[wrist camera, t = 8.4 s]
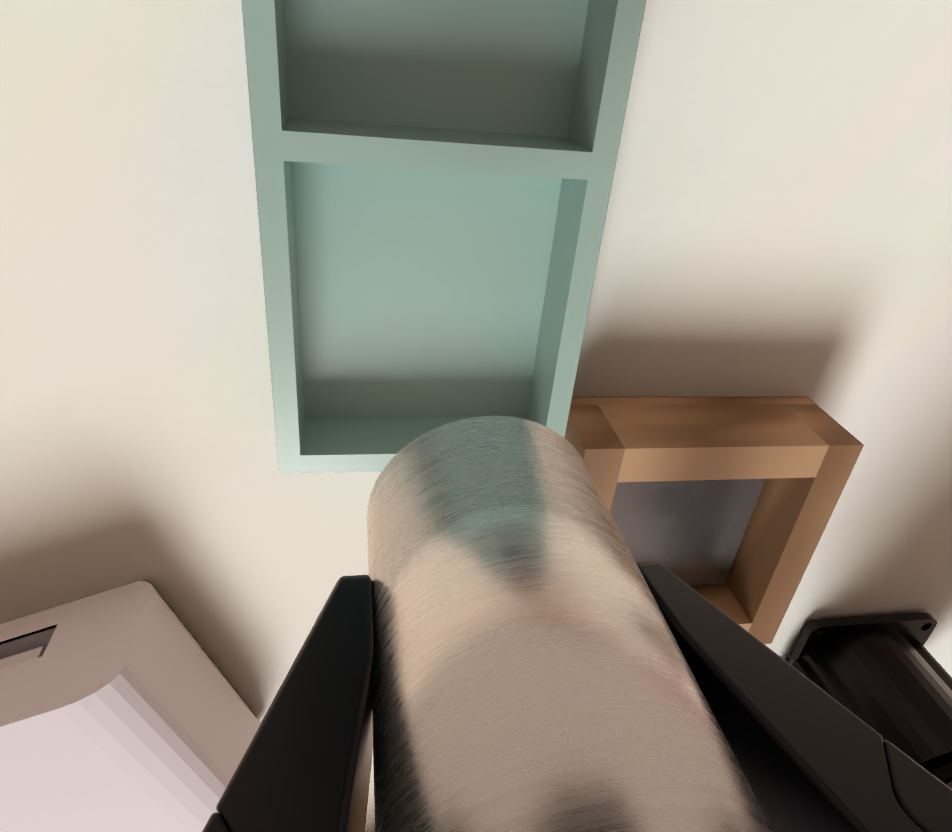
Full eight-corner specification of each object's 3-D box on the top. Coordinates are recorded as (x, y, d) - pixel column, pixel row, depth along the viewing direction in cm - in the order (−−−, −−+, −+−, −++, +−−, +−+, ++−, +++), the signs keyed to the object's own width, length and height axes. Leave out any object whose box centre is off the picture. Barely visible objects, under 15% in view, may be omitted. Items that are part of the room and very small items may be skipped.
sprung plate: (762, 441, 23) (774, 454, 22) (715, 568, 26) (724, 583, 25) (598, 443, 22) (606, 457, 21) (569, 576, 25) (575, 591, 24)
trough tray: (657, -310, 13) (715, -371, 11) (538, 423, 22) (558, 467, 20) (230, -398, 12) (203, -489, 9) (286, 425, 20) (279, 473, 18)
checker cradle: (807, 396, 23) (868, 448, 20) (732, 585, 27) (774, 647, 25) (557, 397, 21) (587, 453, 19) (522, 596, 26) (542, 665, 23)
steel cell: (572, 589, 12) (795, 1175, 6) (367, 600, 11) (381, 1272, 5) (610, 414, 10) (994, 1012, 4) (367, 416, 9) (392, 1131, 3)
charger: (134, 844, 31) (-99, 649, 23) (322, 786, 31) (156, 569, 23) (102, 969, 27) (-194, 785, 19) (318, 902, 27) (115, 689, 19)
